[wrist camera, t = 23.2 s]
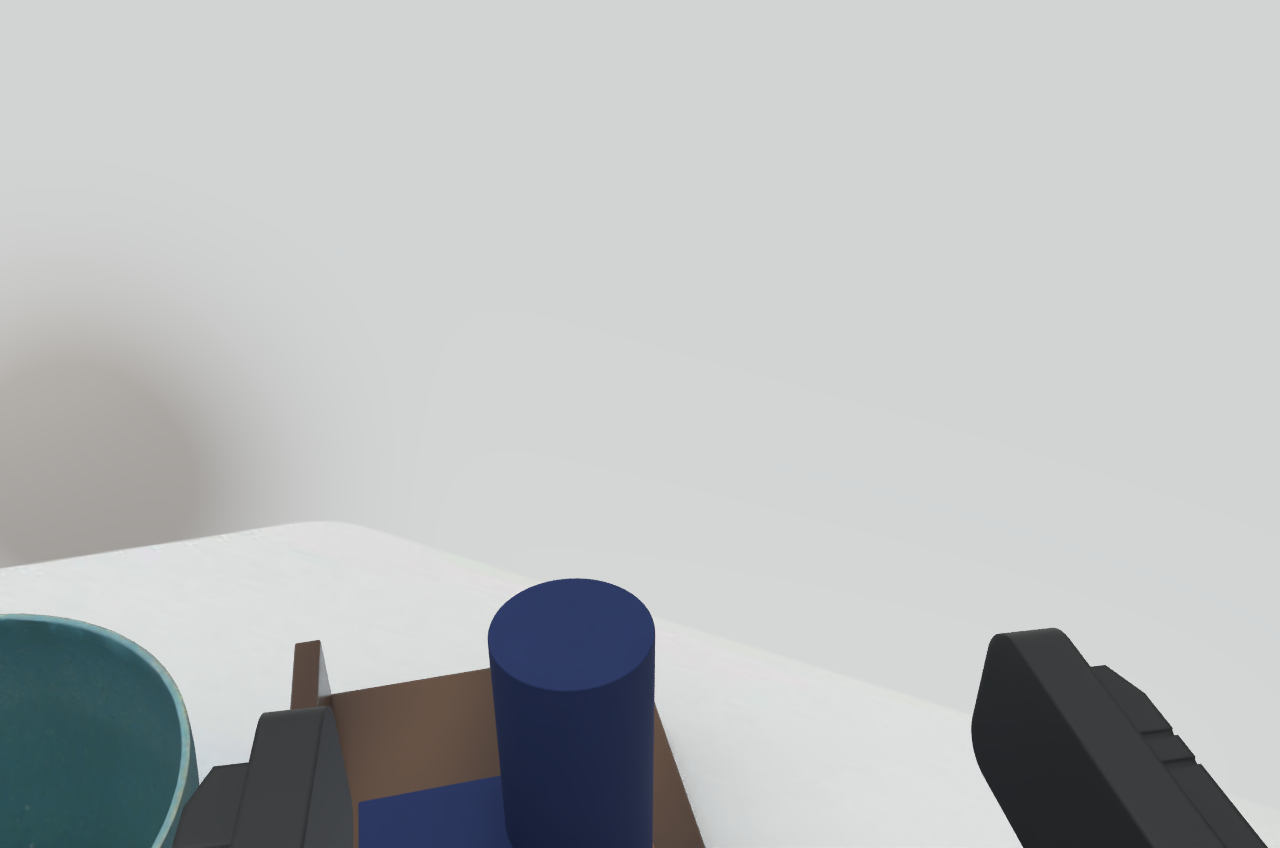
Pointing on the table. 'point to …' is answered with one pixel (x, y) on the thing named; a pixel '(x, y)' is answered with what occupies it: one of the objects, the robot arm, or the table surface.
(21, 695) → the teal bowl
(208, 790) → the robot arm
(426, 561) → the table surface
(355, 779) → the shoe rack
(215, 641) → the table surface
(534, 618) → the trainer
